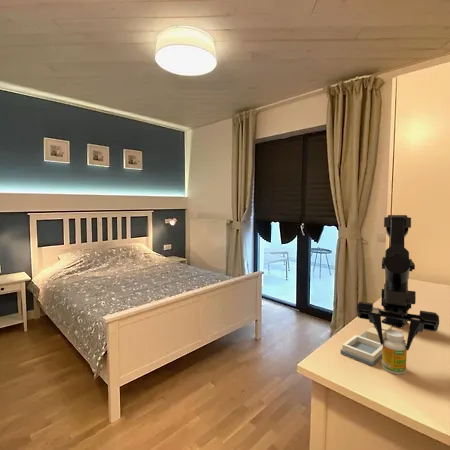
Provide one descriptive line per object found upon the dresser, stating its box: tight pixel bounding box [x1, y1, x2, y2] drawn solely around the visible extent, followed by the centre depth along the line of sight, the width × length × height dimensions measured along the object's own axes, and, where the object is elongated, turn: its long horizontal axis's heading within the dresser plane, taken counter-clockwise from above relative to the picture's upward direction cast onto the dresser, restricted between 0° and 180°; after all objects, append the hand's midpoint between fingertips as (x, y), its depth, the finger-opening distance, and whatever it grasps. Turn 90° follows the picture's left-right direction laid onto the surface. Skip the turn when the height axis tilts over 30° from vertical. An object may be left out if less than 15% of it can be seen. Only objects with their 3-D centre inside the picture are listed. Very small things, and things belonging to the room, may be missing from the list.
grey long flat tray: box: [340, 322, 393, 367], centre depth 86 cm, size 22×9×4 cm, turn 131°
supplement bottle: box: [381, 329, 408, 375], centre depth 74 cm, size 5×5×10 cm
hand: (394, 346), depth 73 cm, fingers closed on supplement bottle, 5 cm apart
